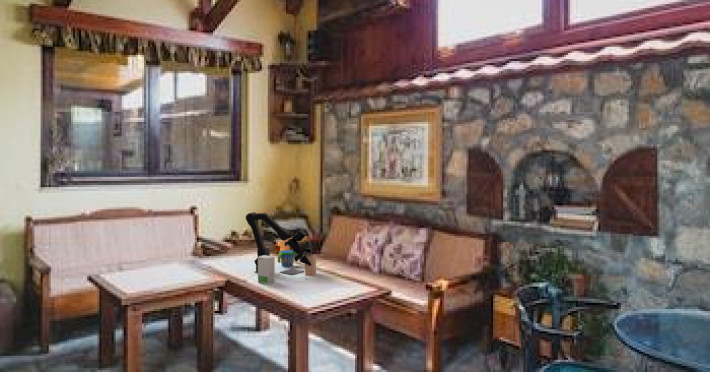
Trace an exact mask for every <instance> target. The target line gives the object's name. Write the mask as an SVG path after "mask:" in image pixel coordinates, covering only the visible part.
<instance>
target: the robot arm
mask: <svg viewBox="0 0 710 372" xmlns="http://www.w3.org/2000/svg"><path fill="white" fill-rule="evenodd" d="M245 220H246V223H247V224H248V226H250V228H251V231H252V234H253V238H254V242H255V245H256V248H257V250H256V255H257V258H256V259H254V261H253V262H254V264H255V271H254V273H255V274H256V273H257V274H258V257H259V256H263V255H267V256H271V252H270V248H269V247H266V245H265V243H264V240H263V236H262V233H261V229H260V227H259V222H260V221H263V222H264V223H266V224H267V225H268V226H269V228H271V229H272V230H273V231H274V232H275V233H276V235H277V236H278V238H279V239H280V240H281V241H285V242H284V247H287V246H289V248H290V250H293V252H295V253H296V257H295V258H294V261H295V263H298V262H300V263H302V264H304V265H305V264H307V265H309V266H311V263H310V262H309V260H308V259H307V257H306V255H312V251H313V249H312V247H313V243H312V242H311V241H310V240H307V241H306V242H305V243H304V244H302V243H299V242H302V240H303V239H305V237H307V232H306V231H305V230H303V229H302V228H300V227H299V228H297V229H296V230H295V232H291V231H290V230H288V229H286V227H285V228H284V227H283V226H281V225H280V224H279V223H278V222H276V221H275V220H274V219H273V218H272V217H271V216H269V214H268V213H266V212H261V213H260V212H259V213H257V212H254V211H253V212H250V213H247V214H246V215H245Z"/></svg>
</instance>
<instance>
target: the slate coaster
mask: <svg viewBox="0 0 710 372" xmlns="http://www.w3.org/2000/svg"><path fill="white" fill-rule="evenodd" d="M301 273H305V270H302V269H297V268H289V269H285V270H282V271H279V274H284V275H290V276H294V275H297V274H301Z"/></svg>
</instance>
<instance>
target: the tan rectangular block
mask: <svg viewBox="0 0 710 372" xmlns="http://www.w3.org/2000/svg"><path fill="white" fill-rule="evenodd" d="M306 257H307V259H308V260H309V262H310V263H311V266H309V265H307V264H304V275H305V276H309V277H311V276H315V275H317V255H316V254H311V255H306Z"/></svg>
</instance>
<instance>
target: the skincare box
mask: <svg viewBox="0 0 710 372" xmlns="http://www.w3.org/2000/svg"><path fill="white" fill-rule="evenodd" d="M257 258H258V273H257V283H260V284H267V285H269V284H272V283H275V281H276V280H275V279H276V278H275V275H276V274H275V270H276V269H275V266H276V264H275V262H276V261H275V258H276V257H275V256H271V255H270V256H267V255H263V256H259V257H258V256H257Z"/></svg>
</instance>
